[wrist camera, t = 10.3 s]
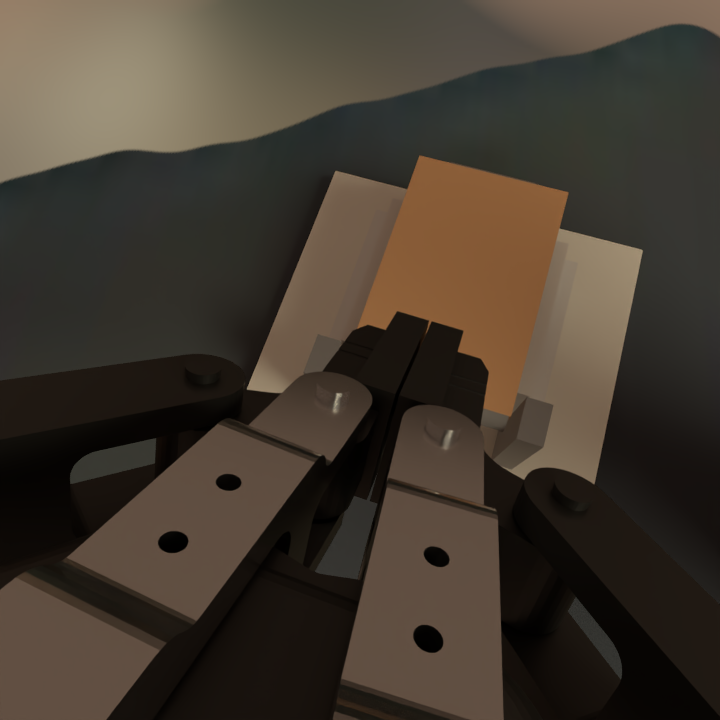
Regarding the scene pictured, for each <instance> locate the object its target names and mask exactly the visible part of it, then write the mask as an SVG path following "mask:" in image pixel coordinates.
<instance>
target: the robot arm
mask: <svg viewBox="0 0 720 720" xmlns="http://www.w3.org/2000/svg"><path fill="white" fill-rule="evenodd" d="M428 324H429V320H426V319H423V318H419V317H416V316H413V315H409V314H406V313H402V312H399V311H397V312H396V314H395V315H394V317H393V319H392V320H391V322H390V323H389V325H388V327H387V328H386V330H384V329H381V328H378V327H374V326H371V325H366V326H363V327H360V328H358V329H355V330H353V331H352V332H351V333H350V335H349V336H348V337H347V339H346V340H345V342H344V343H343V344H342V345H341V347H340V348H339V350H338V351H337V352H336V353H335V355H334V356H333V357H332V359H331V360H330V361H329V363H328V364H327V365H326V367H325V368H324V369H323V371H322V372H311V373H307V374H304V375H302V376H299V377H298V378H297V379H296V380H295V381H294V382H293V383H291V384H290V385H289V386H288V387H287V388H286V389H285V390H284V391H283V392H282V393H271V392H262V391H254V390H247V389H244V386H245V375H244V372H243V371H242V369H241V368H240V367H239V366H237V365H236V364H234V363H233V362H231V361H229V360H227V359H224V358H221V357H217V356H212V355H205V354H190V355H181V356H174V357H167V358H160V359H153V360H145V361H138V362H131V363H124V364H117V365H109V366H102V367H95V368H88V369H81V370H73V371H66V372H59V373H52V374H45V375H38V376H30V377H23V378H16V379H9V380H2V381H0V720H720V605H719V604H718V603H717V602H716V601H715V600H714V599H713V598H712V597H711V596H710V595H709V594H708V593H707V592H706V591H705V590H704V589H703V588H702V587H701V586H700V585H699V584H698V583H697V582H696V581H695V580H694V579H693V578H692V577H691V576H690V575H688V574H687V573H686V572H685V571H684V570H683V569H682V568H681V567H680V566H679V565H678V564H677V563H676V562H675V561H674V560H673V559H672V558H671V557H670V556H669V555H668V554H667V553H666V552H665V551H664V550H663V549H662V548H661V547H660V546H659V545H658V544H657V543H656V542H655V541H653V540H652V539H651V538H650V537H649V536H648V535H647V534H646V533H645V532H644V531H643V530H642V529H641V528H640V527H639V526H638V525H637V524H636V523H635V522H634V521H633V520H632V519H631V518H630V517H629V516H628V515H627V514H626V513H625V512H624V511H623V510H622V509H621V508H619V507H618V506H617V505H616V504H615V503H614V502H613V501H612V500H611V499H610V498H609V497H608V496H607V495H606V494H605V493H604V492H603V491H602V490H601V489H599V488H598V487H597V486H596V485H594V484H593V483H591V482H590V481H588V480H586V479H585V478H583V477H581V476H579V475H577V474H574V473H572V472H569V471H566V470H562V469H557V468H549V467H545V468H538V469H534V470H532V471H531V472H529V473H528V474H527V476H526V477H525V480H524V479H522V478H520V477H518V476H516V475H515V474H513V473H511V472H509V471H508V470H506V469H504V468H503V467H501V466H500V465H498V464H497V463H496V462H495V461H494V460H492V459H491V458H490V457H489V456H488V454H487V453H486V452H485V451H484V436H483V434H482V431H481V430H480V426H481V420H482V413H483V407H484V401H485V394H486V388H487V387H486V386H487V382H488V375H489V371H488V370H487V368H486V366H485V365H484V363H483V361H482V360H481V359H480V358H477V357H474V356H470V355H467V354H464V353H460V352H458V349H459V345H460V342H461V338H462V335H463V332H464V331H463V330H460V329H457V328H453V327H450V326H446V325H443V324H440V323H436V322H433V321H432V322H431V324H430V326H429V328H428ZM427 328H428V331H427ZM426 332H427V333H426ZM153 438H156V454H155V464H151V465H147V466H143V467H139V468H135V469H131V470H127V471H123V472H119V473H115V474H111V475H107V476H103V477H99V478H95V479H91V480H87V481H83V482H78V483H74V484H70V473H71V470H72V468H73V466H74V465H75V464H76V462H78V461H79V460H80V459H81V458H82V457H84V456H85V455H87V454H89V453H92V452H95V451H99V450H103V449H108V448H112V447H117V446H121V445H126V444H131V443H135V442H140V441H144V440H149V439H153ZM377 473H378V474H377ZM376 475H377V477H376ZM375 478H376V481H375V485H374V488H373V492H372V495H371V499H370V501H372V502H375V503H377V508H376V511H375V515H374V518H373V522H372V525H371V529H370V532H369V536H368V540H367V543H366V547H365V551H364V555H363V559H362V563H361V567H360V571H359V575H358V579H357V580H356V579H350V578H343V577H336V576H330V575H323V574H319V573H316V572H315V570H316V569H317V567H318V565H319V563H320V562H321V560H322V558H323V556H324V555H325V553H326V551H327V549H328V548H329V546H330V544H331V542H332V541H333V539H334V537H335V535H336V534H337V532H338V530H339V528H340V526H341V524H342V520H343V516H344V512H345V510H346V509H347V508H348V507H349V505H350V503H351V501H352V499H353V496H357V497H360V498H363V499H365V500H367V497H368V495H369V492H370V490H371V487H372V485H373V483H374V480H375ZM575 597H577V598H578V600H579V601H580V602H581V603H582V605H583V606H584V607H585V608H586V610H587V611H588V612H589V613H590V615H591V616H592V617H593V618H594V619H595V621H596V622H597V623H598V624H599V626H600V627H601V628H602V629H603V631H604V632H605V633H606V634H607V636H608V637H609V638H610V639H611V641H612V642H613V644H614V645H615V647H616V649H617V651H618V653H619V656H620V659H621V663H622V678H621V680H620V678H619V677H618V676H617V674H616V673H615V672H614V671H613V669H612V668H611V667H610V665H609V664H608V663H607V662H606V660H605V659H604V658H603V656H602V655H601V654H600V653H599V651H598V650H597V649H596V647H595V646H594V645H593V644H592V642H591V641H590V640H589V638H588V637H587V636H586V634H585V633H584V632H583V631H582V629H581V628H580V627H579V625H578V624H577V623H576V622H575V620H574V619H573V618H572V616H571V615H570V614H569V613H568V610H569V608H570V606H571V604H572V603H573V601H574V599H575Z"/></svg>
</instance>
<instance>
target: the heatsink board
mask: <svg viewBox="0 0 720 720" xmlns="http://www.w3.org/2000/svg"><path fill="white" fill-rule="evenodd" d="M449 163H452V164H456V165H460V166H464V167H468V168H472V169H476V170H480V171H484V172H488V173H492V174H496V175H500V176H504V177H508V178H512V179H516V180H520V181H524V182H528V183H532V184H536V185H538V184H537V183H533V182H529V181H525V180H521V179H517V178H513V177H509V176H505V175H501V174H497V173H493V172H489V171H485V170H481V169H477V168H473V167H469V166H465V165H461V164H457V163H453V162H449ZM406 192H407V189H404V188H400V187H396V186H392V185H389V184H385V183H381V182H377V181H373V180H369V179H365V178H361V177H358V176H354V175H350V174H346V173H342V172H338V171H335V174H334V176H333V178H332V181H331V183H330V186H329V188H328V191H327V193H326V196H325V198H324V201H323V203H322V205H321V208H320V210H319V213H318V215H317V218H316V220H315V223H314V225H313V228H312V230H311V232H310V235H309V237H308V240H307V242H306V245H305V247H304V250H303V252H302V255H301V257H300V259H299V262H298V264H297V267H296V269H295V272H294V274H293V277H292V279H291V282H290V284H289V287H288V289H287V291H286V294H285V296H284V299H283V301H282V304H281V306H280V309H279V311H278V314H277V316H276V318H275V321H274V323H273V326H272V328H271V331H270V333H269V336H268V338H267V341H266V343H265V345H264V348H263V350H262V353H261V355H260V358H259V360H258V363H257V365H256V368H255V370H254V372H253V375H252V377H251V380H250V382H249V385H248V387H247V390H254V391H262V392H271V393H282V392H283V391H284V390H285V389H286V388H287V387H288V386H289V385H290V384H291V383H293V382H294V381H295V380H296V379H297V378H298V377H299V376H302V375H304V374H307V373H311V372H322V371H323V369H324V368H325V367H326V365H327V364H328V363H329V361H330V360H331V359H332V357H333V356H334V355H335V353H336V352H337V351H338V350H339V348H340V347H341V345H342V344H343V343H344V342H345V340H346V339H347V337H348V336H349V335H350V333H351V332H352V331H353V330H355V329H357V327H358V324H359V322H360V319H361V316H362V313H363V311H364V308H365V305H366V302H367V299H368V297H369V294H370V291H371V288H372V286H373V283H374V280H375V277H376V275H377V272H378V269H379V266H380V264H381V261H382V258H383V255H384V253H385V250H386V247H387V244H388V241H389V239H390V236H391V233H392V230H393V228H394V225H395V222H396V219H397V217H398V214H399V211H400V208H401V206H402V203H403V200H404V197H405V194H406ZM642 252H643V250H640V249H637V248H633V247H629V246H625V245H621V244H617V243H613V242H609V241H606V240H602V239H598V238H594V237H590V236H586V235H582V234H578V233H575V232H571V231H567V230H563V229H559V232H558V236H557V240H556V243H555V247H554V251H553V255H552V259H551V263H550V267H549V271H548V275H547V279H546V282H545V286H544V290H543V294H542V298H541V302H540V306H539V310H538V314H537V318H536V322H535V325H534V329H533V333H532V337H531V341H530V345H529V349H528V353H527V357H526V361H525V364H524V368H523V372H522V376H521V380H520V384H519V388H518V392H517V396H516V400H515V404H514V407H513V411H512V415H511V418H510V419H509V420H508V421H507V424H506V427H505V429H504V431H503V432H501V431H498V430H495V429H492V428H489V427H485V426H482V425H481V426H480V430H481V431H482V434H483V436H484V451H485V452H486V453H487V454H488V456H489V457H490V458H491V459H492V460H494V461H495V462H496V463H497V464H498V465H500V466H501V467H503V468H504V469H506V470H508V471H509V472H511V473H513V474H515V475H516V476H518V477H520V478H522V479H524V480H525V477H526V476H527V474H528V473H529V472H531V471H532V470H534V469H538V468H545V467H549V468H557V469H562V470H566V471H569V472H572V473H574V474H577V475H579V476H581V477H583V478H585V479H586V480H588V481H590V482H591V483H593V484H595V479H596V475H597V470H598V465H599V460H600V455H601V450H602V445H603V441H604V436H605V431H606V426H607V421H608V416H609V412H610V407H611V402H612V397H613V392H614V387H615V382H616V378H617V373H618V368H619V363H620V358H621V353H622V349H623V344H624V339H625V334H626V329H627V324H628V319H629V315H630V310H631V305H632V300H633V295H634V290H635V286H636V281H637V276H638V271H639V266H640V261H641V256H642Z"/></svg>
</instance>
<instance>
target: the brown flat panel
mask: <svg viewBox="0 0 720 720" xmlns="http://www.w3.org/2000/svg"><path fill="white" fill-rule="evenodd" d="M567 197H568V192H564V191H560V190H556V189H552V188H548V187H544V186H540V185H536V184H532V183H528V182H524V181H520V180H516V179H512V178H508V177H504V176H500V175H496V174H492V173H488V172H484V171H480V170H476V169H472V168H468V167H464V166H460V165H456V164H452V163H448V162H444V161H440V160H436V159H432V158H428V157H424V156H419V159H418V161H417V164H416V167H415V170H414V172H413V175H412V178H411V181H410V183H409V186H408V189H407V192H406V194H405V197H404V200H403V203H402V206H401V208H400V211H399V214H398V217H397V219H396V222H395V225H394V228H393V230H392V233H391V236H390V239H389V241H388V244H387V247H386V250H385V253H384V255H383V258H382V261H381V264H380V266H379V269H378V272H377V275H376V277H375V280H374V283H373V286H372V288H371V291H370V294H369V297H368V299H367V302H366V305H365V308H364V311H363V313H362V316H361V319H360V322H359V324H358V327H357V329H358V328H360V327H363V326H366V325H371V326H374V327H378V328H381V329H384V330H386V328H387V327H388V325H389V323H390V322H391V320H392V319H393V317H394V315H395V314H396V312H397V311H399V312H402V313H406V314H409V315H413V316H416V317H419V318H423V319H426V320H429V324H428V328H429V326H430V324H431V322H432V321H433V322H436V323H440V324H443V325H446V326H450V327H453V328H457V329H460V330H463V331H464V332H463V335H462V338H461V342H460V345H459V349H458V352H460V353H464V354H467V355H470V356H474V357H477V358H480V359H481V360H482V361H483V363H484V365H485V366H486V368H487V370H488V371H489V375H488V382H487V386H486V387H487V388H486V394H485V401H484V407H483V413H482V420H481V425H482V426H485V427H489V428H492V429H495V430H498V431H501V432H503V431H504V429H505V427H506V424H507V421H508V420H509V419H510V418H511V415H512V411H513V407H514V404H515V400H516V396H517V392H518V388H519V384H520V380H521V376H522V372H523V368H524V364H525V361H526V357H527V353H528V349H529V345H530V341H531V337H532V333H533V329H534V325H535V322H536V318H537V314H538V310H539V306H540V302H541V298H542V294H543V290H544V286H545V282H546V279H547V275H548V271H549V267H550V263H551V259H552V255H553V251H554V247H555V243H556V240H557V236H558V232H559V228H560V224H561V220H562V216H563V212H564V208H565V204H566V201H567ZM428 328H427V331H428ZM426 333H427V332H426Z"/></svg>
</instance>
